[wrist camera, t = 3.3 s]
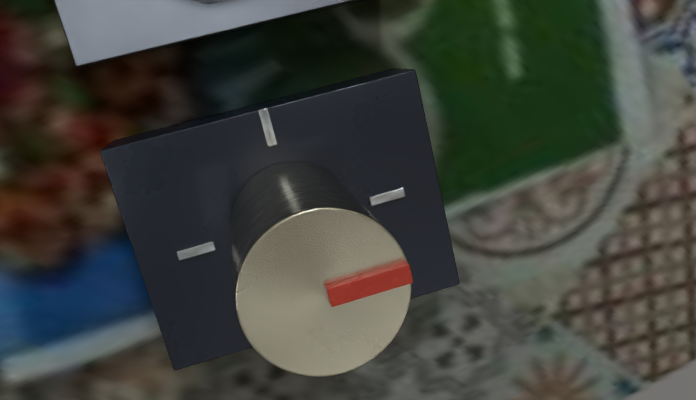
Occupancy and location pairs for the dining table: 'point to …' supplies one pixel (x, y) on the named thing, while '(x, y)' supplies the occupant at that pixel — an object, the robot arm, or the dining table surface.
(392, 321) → the dial
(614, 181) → the dining table surface
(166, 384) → the dining table surface
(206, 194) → the panel
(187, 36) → the block
